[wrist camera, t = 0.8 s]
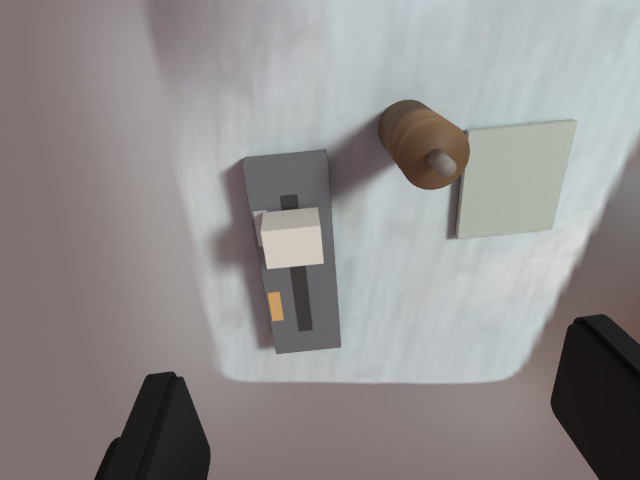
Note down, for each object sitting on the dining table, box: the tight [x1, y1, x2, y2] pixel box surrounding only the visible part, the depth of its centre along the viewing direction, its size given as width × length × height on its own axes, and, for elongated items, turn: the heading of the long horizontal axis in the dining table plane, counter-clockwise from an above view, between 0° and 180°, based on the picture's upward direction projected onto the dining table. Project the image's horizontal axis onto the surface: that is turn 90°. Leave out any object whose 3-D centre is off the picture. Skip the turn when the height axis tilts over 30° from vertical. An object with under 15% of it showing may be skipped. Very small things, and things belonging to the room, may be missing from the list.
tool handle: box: [379, 100, 470, 190], centre depth 25 cm, size 4×4×9 cm
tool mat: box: [455, 119, 577, 239], centre depth 31 cm, size 9×8×1 cm
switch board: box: [242, 150, 341, 354], centre depth 33 cm, size 18×6×2 cm, turn 4°
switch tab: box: [261, 207, 324, 269], centre depth 29 cm, size 3×4×3 cm
